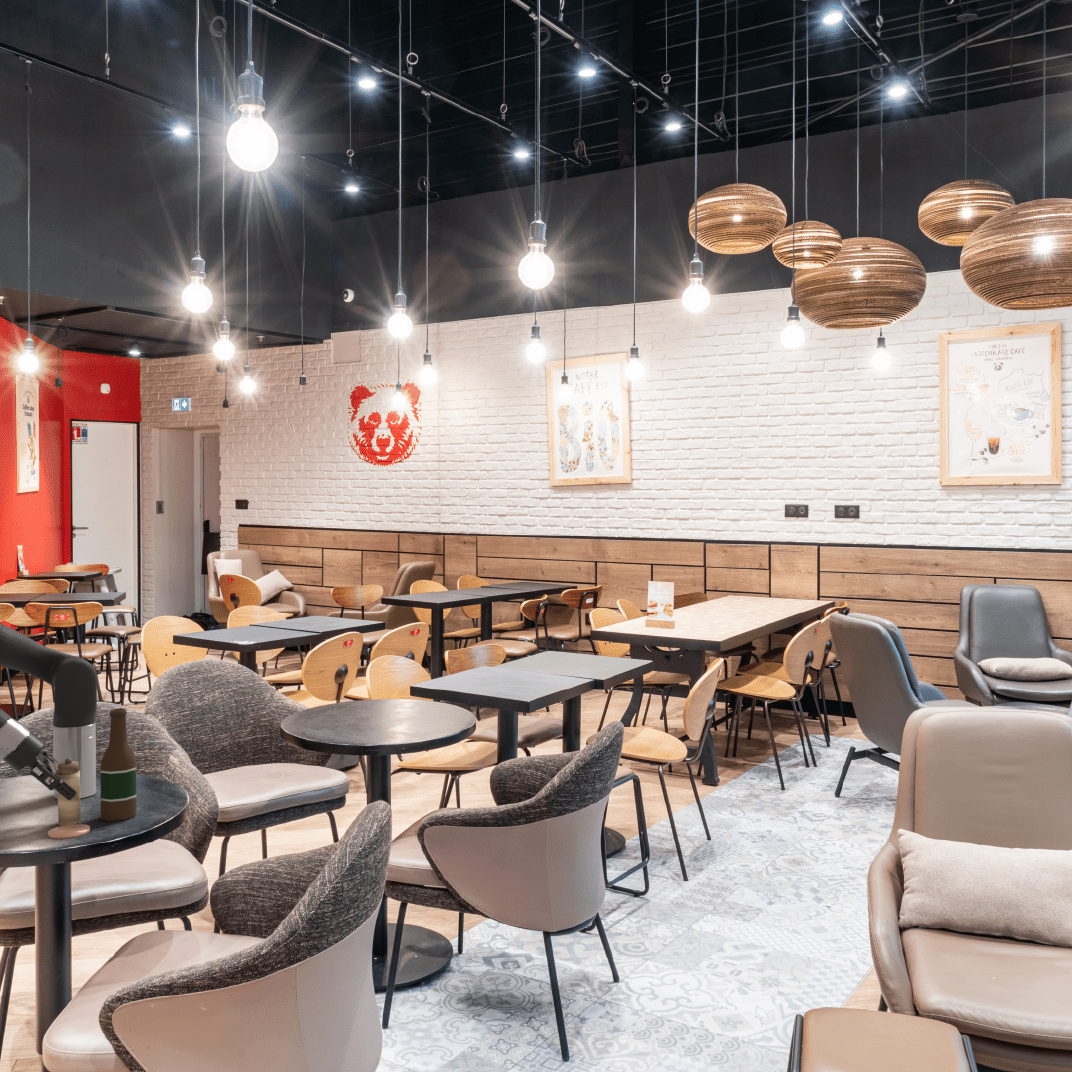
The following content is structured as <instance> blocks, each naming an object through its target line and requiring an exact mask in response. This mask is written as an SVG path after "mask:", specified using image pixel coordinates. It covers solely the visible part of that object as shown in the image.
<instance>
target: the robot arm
mask: <svg viewBox="0 0 1072 1072" xmlns="http://www.w3.org/2000/svg"><path fill="white" fill-rule="evenodd" d="M0 667H2V668H5V669H9V670H13V671H18V672H21V673H22V672H23V673H25V674H28V675H31V676H33V677H34V678H36V679H39V680H41V681H42V682H45V683H46V684H49V686H51V687H53V689H54V692H53V693H54V696H53V697H54V702H53V703H54V704H53V705H54V709H53V717H52V724H53V725H52V726H53V728H52V730H53V732H52V733H53V737H52V738H53V741H52V742H53V744H52V745H53V748H52V749H53V756H52V755H50V754H49V753H48V752H47V751H44V748H45V747H46V742H44V741H43V740H42V739H40V738H39V737H38V736H37V735H36V734H35V733H34V732H32V731H31V730H30V729H28V728H27V727H26V726H25V725H24V724H23V723H21V722H19V721H18V720H16V719H14V718H13V717H12V716H11V715H9V714H8V713H7V712H5V711H4V709H2V708H0V759H2V760H3V761H4V762H5V763H6V764H8V765H9V766H10V767H12V768H13V769H14V770H15V771H17V772H21V771H22V770H23V769H25V768H26V767H29V769H31V770H30V771H29V774H30V775H31V776H33V777H34V778H35V779H36V780H37V781H38V782H40V783H41V784H42V785H44V786H45V787H46V788H47V789H48V790H49V791H53V798H54V799H56V800H58V792H59V793H60V794H61V795H62V796H64V797H65V798H66V799H67V800H71V799H72V798H73V797H74V796H75V795H76V793H77V792H76V791H75V790H74V789H73V788H72V787H70V786H69V785H68V784H67V783H66V782H64V781H63V779H62V778H60V776H59V771H58V764H60V763H63V762H65V759H67V758H71V759H72V761H77V762H79V771H80V799H84V798H88V797H91V796H93V795H95V794H96V793H97V757H96V756H97V755H96V754H97V752H96V751H97V748H96V745H97V744H96V739H97V738H96V737H97V736H96V735H97V733H96V731H97V730H96V727H97V725H96V715H97V709H98V708H97V707H98V705H97V702H98V680H97V679H98V678H97V677H98V676H97V671H96V669H95V667H94V666H93V665H92V663H90V662H89V661H87V660H86V659H85V658H82V657H81V656H80V657H79V656H75V655H72V654H69V653H66V652H62V651H60V650H56V649H53V648H50V647H47V646H45V645H42V644H41V643H39V642H36V641H35V640H33V639H31V638H30V637H28V636H26V635H25V634H23V633H21V632H19V631H17V630H15V629H14V628H11V627H10V626H7V625H5V624H2V623H0Z"/></svg>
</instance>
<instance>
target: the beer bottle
mask: <svg viewBox="0 0 1072 1072" xmlns="http://www.w3.org/2000/svg"><path fill="white" fill-rule="evenodd" d="M127 713H128V712H127V709H126V708H121V707H120V708H112V709H110V711H109V716H110V727H109V728H110V730H109V742H108V746H107V747H106V749H105V751H104V753H103V756H102V757H101V761H100V815H101V816H100V819H101V821H103V820H105V822H110V821H114V822H120V821H119V820H124V821H127V820H126V819H128V818H130V817H133V818H135V817H136V815H137V806H138V805H137V798H138V797H137V759H136V758H137V757H136V754H135V751H134V750H133V748H132V747H131V745H130V744H129V741H128V729H127V718H126V717H127V716H126V715H127ZM134 816H135V817H134ZM130 819H131V818H130ZM128 820H129V819H128Z"/></svg>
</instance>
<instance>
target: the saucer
mask: <svg viewBox="0 0 1072 1072" xmlns="http://www.w3.org/2000/svg"><path fill="white" fill-rule="evenodd" d="M90 831H91V826H90V825H89V824H84V823H78V824H72V825H64V826H60V825H59V826H56V827H54V828H52V829H49V830H48V832H47V837H48V838H51V839H57V840H58V839H60V840H62V839H70V838H71V839H73V838H76V837H81V836H84V835H86V834H88V833H90Z"/></svg>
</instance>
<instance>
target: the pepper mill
mask: <svg viewBox="0 0 1072 1072" xmlns="http://www.w3.org/2000/svg"><path fill="white" fill-rule="evenodd" d="M58 771H59V776H60V778H62V779H63V781H64V782H66V783H67V784H68V785H69V786H70V787H72V788H73V789H74V790H75V791H76V792H77V793H76V795H75V796H74V797H73V798H72V799H71V800H67V799H66V798H65V797H64V796H62V795H61V794H60V793H59V792H58V799H57V814H58V815H57V818H58V821H57V822H58V824H59V825H58V824H57V825H58V826H59V827H60V826H64V825H72V824H77V823H78V824H81V822H82V813H81V811H82V810H81V809H82V808H81V807H82V805H81V798H80V771H79V762H77V761H72V759H71V758H67V759H65V762H63V763H60V764H58Z"/></svg>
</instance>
